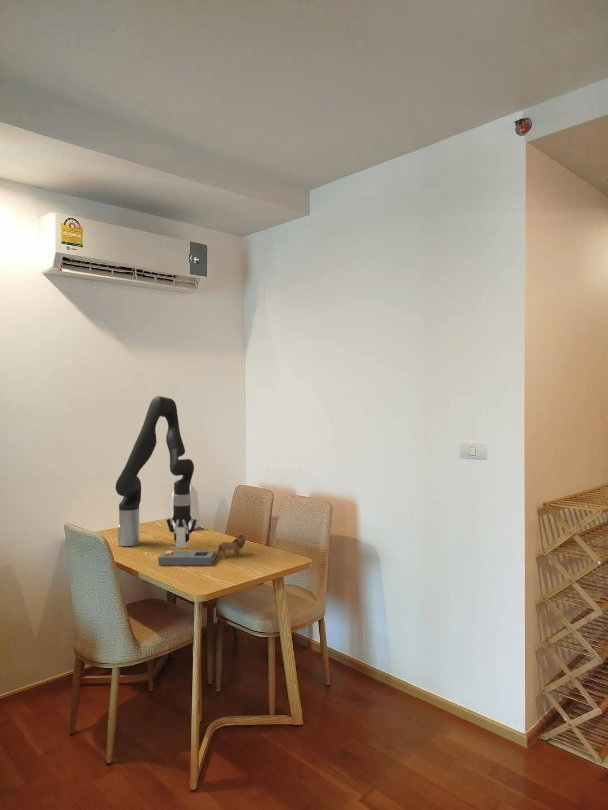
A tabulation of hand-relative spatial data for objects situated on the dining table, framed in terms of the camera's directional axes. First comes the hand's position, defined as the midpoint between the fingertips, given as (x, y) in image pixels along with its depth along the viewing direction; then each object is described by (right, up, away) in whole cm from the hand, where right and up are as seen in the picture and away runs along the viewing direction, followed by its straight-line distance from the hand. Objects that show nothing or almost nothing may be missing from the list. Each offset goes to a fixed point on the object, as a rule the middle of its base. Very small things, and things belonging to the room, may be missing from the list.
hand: (181, 541), depth 242 cm
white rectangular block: (0, -2, 0) cm, 2 cm away
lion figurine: (+23, -6, -3) cm, 24 cm away
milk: (-9, -5, +48) cm, 49 cm away
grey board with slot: (+5, -6, -12) cm, 14 cm away
